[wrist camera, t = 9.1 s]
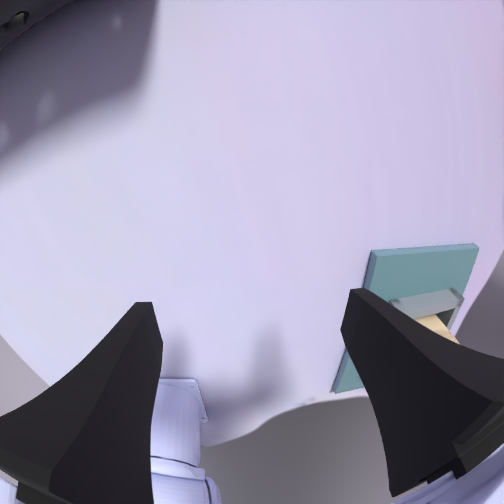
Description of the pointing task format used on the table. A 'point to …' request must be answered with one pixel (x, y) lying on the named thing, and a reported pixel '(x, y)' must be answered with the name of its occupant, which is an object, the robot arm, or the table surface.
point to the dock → (415, 288)
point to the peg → (436, 326)
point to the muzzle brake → (23, 16)
